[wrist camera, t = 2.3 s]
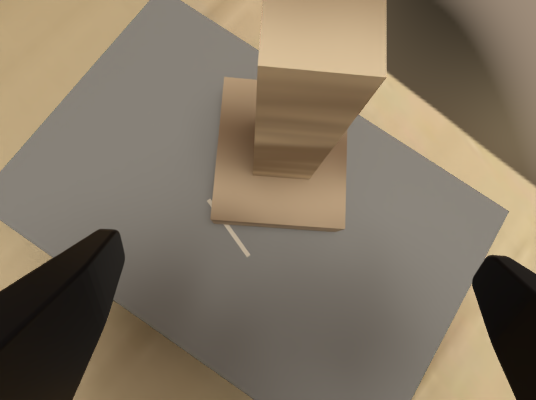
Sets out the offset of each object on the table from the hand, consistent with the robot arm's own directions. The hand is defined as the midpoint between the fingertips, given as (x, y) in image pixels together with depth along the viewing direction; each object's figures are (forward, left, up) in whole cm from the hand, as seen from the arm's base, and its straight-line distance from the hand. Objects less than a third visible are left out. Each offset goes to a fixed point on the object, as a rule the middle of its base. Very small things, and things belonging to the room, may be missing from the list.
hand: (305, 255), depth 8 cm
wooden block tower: (+3, -5, -11) cm, 12 cm away
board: (+3, -2, -12) cm, 13 cm away
